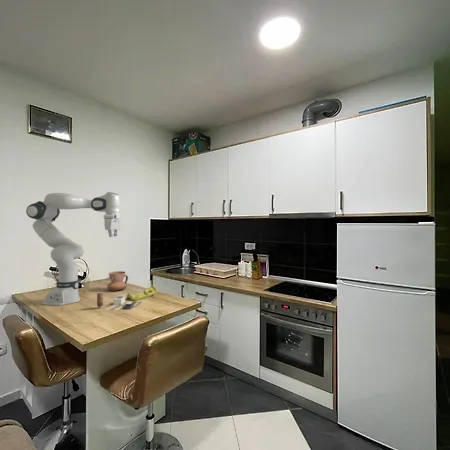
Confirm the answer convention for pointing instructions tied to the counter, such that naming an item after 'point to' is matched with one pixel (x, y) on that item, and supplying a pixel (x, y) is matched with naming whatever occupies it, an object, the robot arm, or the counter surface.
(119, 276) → the ceramic jug
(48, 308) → the counter surface
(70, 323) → the counter surface
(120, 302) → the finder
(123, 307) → the beige flat block
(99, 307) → the brown rounded cylinder
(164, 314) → the counter surface
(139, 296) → the plastic component
